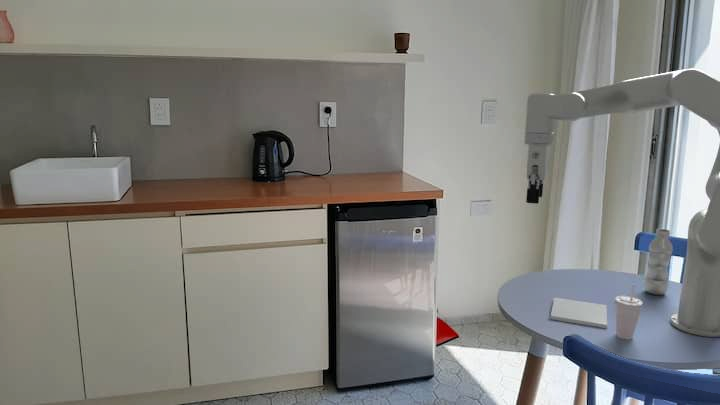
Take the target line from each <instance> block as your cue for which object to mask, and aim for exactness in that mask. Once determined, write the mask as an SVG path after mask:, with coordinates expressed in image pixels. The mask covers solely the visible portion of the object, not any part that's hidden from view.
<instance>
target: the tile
mask: <svg viewBox="0 0 720 405" xmlns="http://www.w3.org/2000/svg"><path fill="white" fill-rule="evenodd" d="M607 312H608V308H607V304H600V303H596V302H595V303H593V302H586V301H581V300H572V299H568V298H567V299H566V298H560V297H553V303H552V308H551V313H550V318H549V319H550V320H554V321H559V322H568V323H573V324H579V325H585V326H589V327H595V328H597V327H598V328H601V329H603V328H604V329H608V315H607V314H608V313H607Z"/></svg>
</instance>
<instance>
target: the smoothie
mask: <svg viewBox="0 0 720 405" xmlns="http://www.w3.org/2000/svg"><path fill="white" fill-rule="evenodd" d="M634 292H635V283H632V284H631V290H630V295H618V296H616V297H615V298H614V301H613V302H614V304H615V327H616V328H615V330H616V334H615V335H616V336H617V337H618V338H619V339H621V340H633V338H634V335H635V330H636V327H637V324H638V321H639V320H638V319H639V316H640V313H641V309H642V308H643V307H644V301H642V300H641V299H639V298H637V297H634V294H635V293H634Z"/></svg>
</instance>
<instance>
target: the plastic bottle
mask: <svg viewBox="0 0 720 405" xmlns="http://www.w3.org/2000/svg"><path fill="white" fill-rule="evenodd" d="M670 233H671V231H670V230H669V229H666V228H657V229H656V230H655V234H654V236H655V237H654V239H652V240H651V241H650V243H649V246H648V267H647V271H646V276H645V279H644V282H643V286H644V287H643V288H644V290H645V292H647V293H648V294H652V295H659V296H660V295H661V296H662V295H665V294H666V293H667V291H668V288H669V280H668V277H669V276H668V275H669V273H668V272H669V265H670V262H671V257H672V254H673V252H674V247H673V244H672V242H671V240H670V239H669V238H670V236H671V234H670Z"/></svg>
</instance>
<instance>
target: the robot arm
mask: <svg viewBox="0 0 720 405" xmlns="http://www.w3.org/2000/svg"><path fill="white" fill-rule="evenodd" d="M679 106H681V107H683V108H685V109H687V110H688V111H690V112H692V113H694V114H695V115H697V116H698V117H700V118H702V119H703V120H706V121H707V123H708V124H709V125H710V126H711V127H713V128H715V129H716V130H717V132H718V135H719V137H720V81H719V80H718V79H716V78H715V77H713V76H711V75H710V74H708V73H706V72H704V71H702V70H700V69H696V68H688V69H687V68H686V69H680V70H674V71H670V72H664V73H660V74H659V73H658V74H654V75H649V76H642V77H636V78H631V79H627V80H622V81H620V82H619V81H618V82H616V83H613V84H610V85H605V86H601V87H596V88H591V89H590V88H589V89H585V90H579V91H578V90H577V91H573V92H572V91H571V92H567V93H559V94H557V93H556V94H554V93H549V92H548V93H547V92H543V93H541V92H538V93H537V92H535V93H531V94H529V95H528V96H527V101H526V114H525V130H524V131H525V132H524V142H523V143H524V145H527V146H528V148H527V149H528V150H527V159H526V160H527V161H526V162H527V163H526V180H527V181H528V184H527V188H526V189H527V190H526V198H525V199H526V200H525V201H526V203H528V204H535V205H536V204H537V205H538V204H539V201H540V198H542V197H543V190H544V183H543V182H546V181H547V179H548V176H549V160H550V159H549V158H550V157H549V156H550V146H553V145H554V135H555V134H554V133H555V126H556V124H555V123H556V121H557V120H558V121H563V122H570V123H571V122H577V121H578V120H580V119H584V118H590V117H595V116H604V115H610V114H613V115H614V114H620V115H626V114H634V113H641V112H648V111H654V110H659V109H660V110H661V109H665V108H666V109H667V108H673V107H679ZM705 194H706V196H707V197H708V199H709V200H710V201H709V202H708V203H709V204H708V205H707V208H705V209H702V210H700V211H698V212H697V213H695V214H694V215H693V216H692V217H691V219H690V221H689V223H688V230H687V242H686V243H687V245H686V246H687V247H686V257H685V264H684V271H683V277H682V282H681V283H682V284H681V290H680V291H681V292H680V295H679V304H678V311H677V313H674V314H672V315H671V316H670V320H669V321H670V323H671V325H672V326H673V327H675V328H677V329H679V330H681V331H682V332H685V333H688V334H692V335H695V336H700V337H707V338H708V337H709V338H710V337H711V338H717V337H720V144H719V145H718V150H717V153H716V158H715V160H714V163H713V166H712V168H711V171H710V174H709V176H708V179H707V181H706V185H705Z"/></svg>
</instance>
